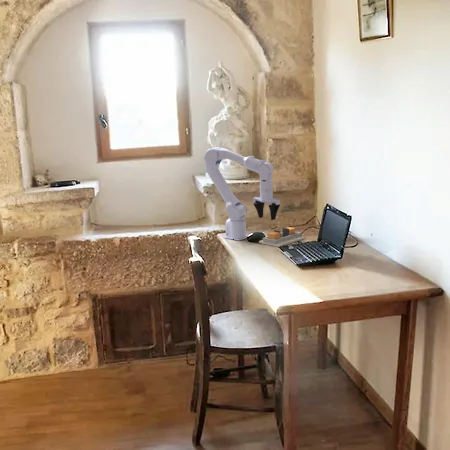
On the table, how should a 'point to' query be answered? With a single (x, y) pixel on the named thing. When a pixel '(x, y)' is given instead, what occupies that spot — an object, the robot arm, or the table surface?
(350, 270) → the table surface
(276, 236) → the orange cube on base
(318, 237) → the dark thin upright piece
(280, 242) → the grey frame base
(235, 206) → the robot arm
